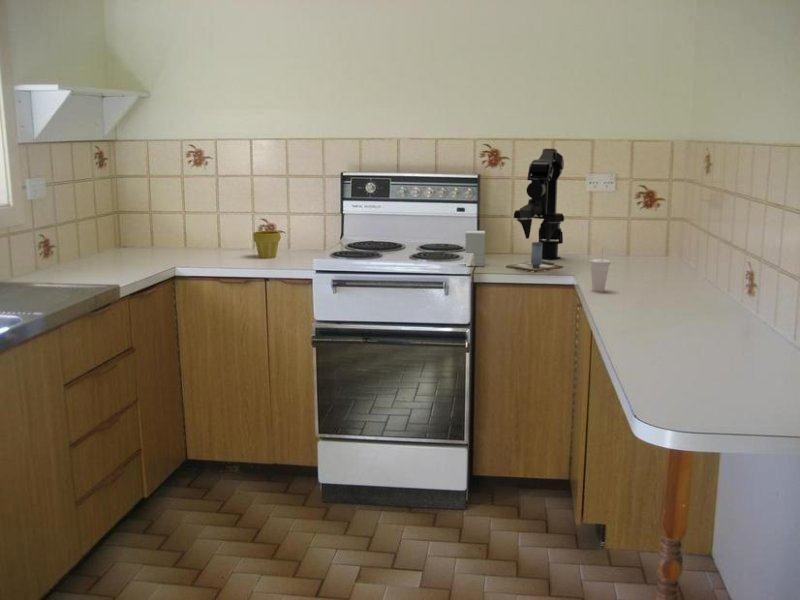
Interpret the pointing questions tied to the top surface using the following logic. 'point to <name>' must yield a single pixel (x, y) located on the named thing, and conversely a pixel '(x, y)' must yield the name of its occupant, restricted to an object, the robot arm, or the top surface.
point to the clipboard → (529, 267)
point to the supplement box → (476, 246)
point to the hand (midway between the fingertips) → (537, 239)
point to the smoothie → (599, 273)
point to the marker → (536, 254)
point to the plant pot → (266, 243)
